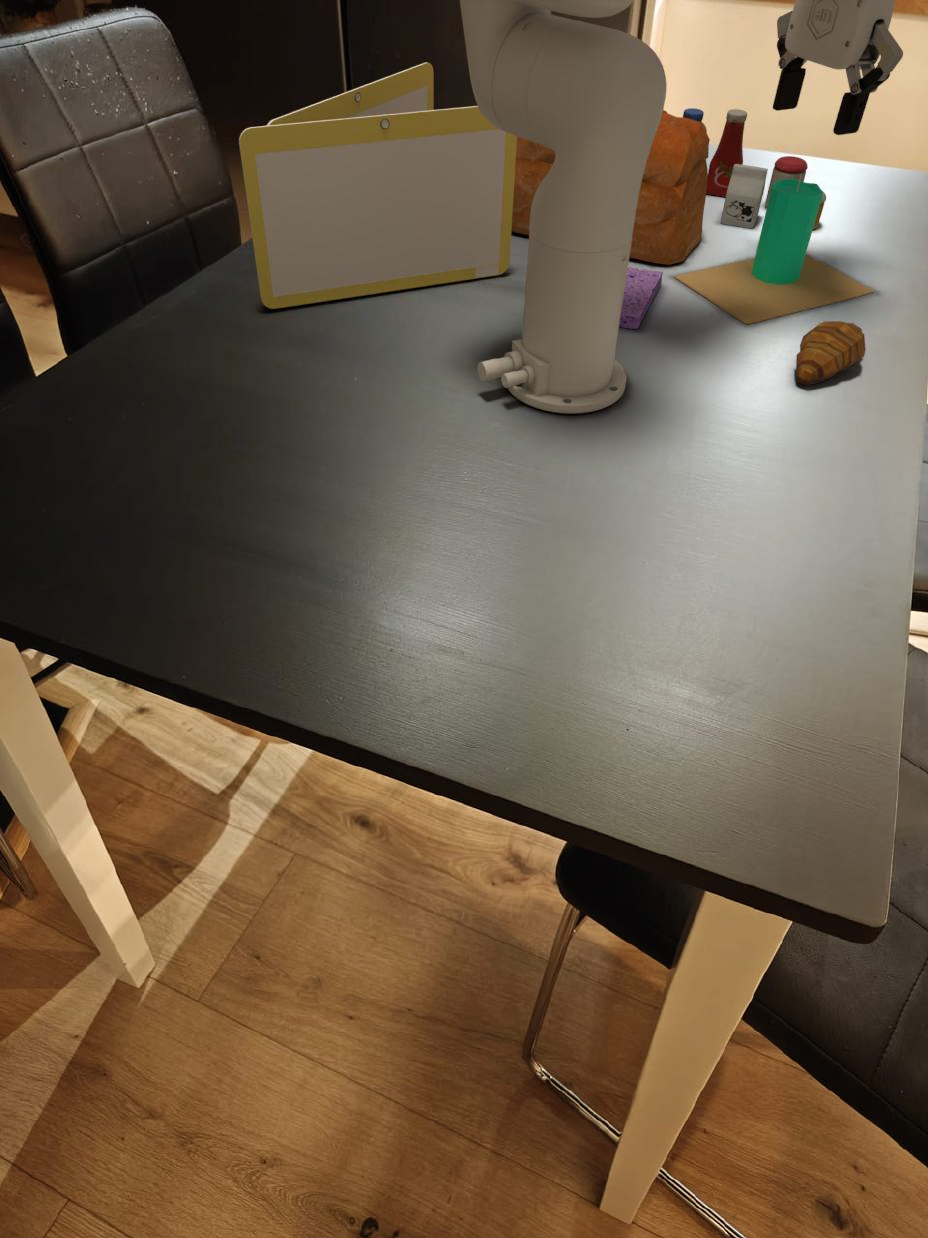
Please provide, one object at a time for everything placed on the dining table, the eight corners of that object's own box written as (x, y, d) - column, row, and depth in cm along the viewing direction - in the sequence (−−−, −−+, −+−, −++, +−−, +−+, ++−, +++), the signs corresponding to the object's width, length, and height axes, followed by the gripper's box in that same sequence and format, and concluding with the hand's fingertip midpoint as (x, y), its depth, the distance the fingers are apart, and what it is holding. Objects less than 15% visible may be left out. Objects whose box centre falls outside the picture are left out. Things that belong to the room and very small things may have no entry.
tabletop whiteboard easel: (410, 211, 127) (406, 51, 113) (547, 247, 119) (561, 79, 105) (244, 307, 105) (214, 123, 91) (398, 358, 98) (391, 165, 84)
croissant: (831, 400, 93) (847, 355, 89) (770, 378, 96) (783, 334, 92) (880, 351, 100) (896, 308, 97) (822, 332, 103) (835, 290, 100)
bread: (675, 272, 114) (699, 143, 104) (486, 230, 123) (490, 107, 112) (707, 234, 123) (732, 111, 112) (529, 197, 132) (536, 80, 121)
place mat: (746, 325, 104) (747, 323, 104) (673, 277, 113) (674, 275, 113) (873, 292, 111) (874, 290, 111) (795, 249, 120) (796, 248, 120)
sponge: (660, 286, 111) (663, 271, 110) (637, 331, 103) (640, 315, 102) (605, 276, 113) (607, 261, 112) (578, 319, 105) (579, 304, 103)
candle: (790, 288, 111) (819, 186, 103) (744, 276, 113) (768, 175, 105) (805, 271, 115) (834, 171, 106) (759, 260, 117) (784, 161, 108)
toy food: (623, 207, 130) (636, 114, 121) (645, 178, 138) (659, 90, 129) (813, 239, 123) (841, 143, 114) (825, 206, 131) (851, 115, 122)
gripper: (777, -82, 94) (737, 103, 105) (905, -56, 83) (844, 147, 94) (831, -83, 96) (786, 97, 108) (962, -58, 85) (896, 139, 97)
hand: (813, 120), depth 101 cm, fingers open, 9 cm apart
